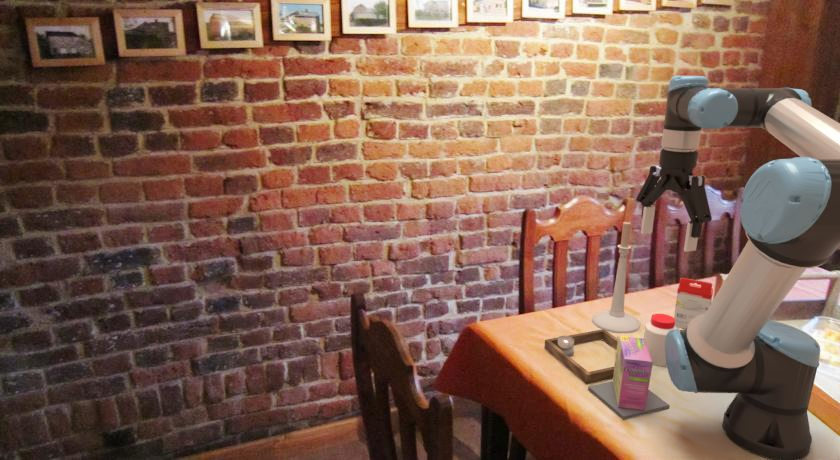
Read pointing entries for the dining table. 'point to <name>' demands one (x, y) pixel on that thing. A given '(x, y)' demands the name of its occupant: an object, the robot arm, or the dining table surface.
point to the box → (632, 373)
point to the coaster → (609, 398)
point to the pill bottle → (658, 336)
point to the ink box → (691, 301)
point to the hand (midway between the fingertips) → (667, 241)
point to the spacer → (566, 344)
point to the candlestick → (619, 295)
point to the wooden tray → (573, 365)
